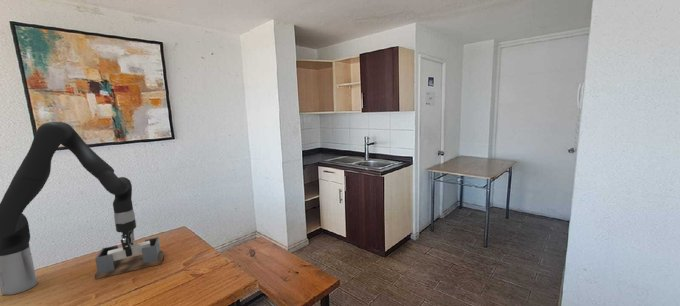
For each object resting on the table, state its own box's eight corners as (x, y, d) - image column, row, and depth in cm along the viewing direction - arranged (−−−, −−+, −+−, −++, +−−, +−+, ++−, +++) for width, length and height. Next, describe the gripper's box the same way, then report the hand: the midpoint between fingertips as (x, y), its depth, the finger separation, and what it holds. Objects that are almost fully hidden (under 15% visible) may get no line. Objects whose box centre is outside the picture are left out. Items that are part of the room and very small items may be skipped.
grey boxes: (98, 274, 122) (95, 258, 121) (104, 262, 131) (102, 248, 130) (158, 260, 132) (156, 245, 131) (160, 250, 141) (158, 237, 140)
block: (108, 262, 125) (107, 254, 124) (109, 258, 128) (107, 250, 127) (151, 251, 134) (149, 243, 134) (150, 248, 137) (149, 240, 137)
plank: (95, 279, 121) (94, 275, 121) (102, 267, 131) (101, 263, 131) (161, 263, 133) (161, 259, 132) (163, 253, 142) (163, 249, 142)
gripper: (118, 216, 133) (124, 249, 136) (110, 227, 120) (116, 263, 123) (137, 213, 136) (142, 245, 139) (131, 223, 124) (137, 258, 126)
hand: (130, 253), depth 131 cm, fingers closed on block, 4 cm apart
